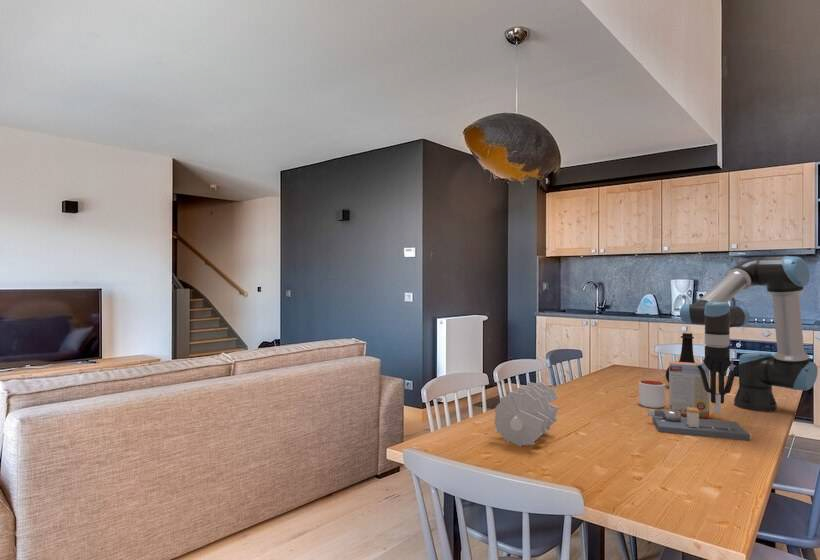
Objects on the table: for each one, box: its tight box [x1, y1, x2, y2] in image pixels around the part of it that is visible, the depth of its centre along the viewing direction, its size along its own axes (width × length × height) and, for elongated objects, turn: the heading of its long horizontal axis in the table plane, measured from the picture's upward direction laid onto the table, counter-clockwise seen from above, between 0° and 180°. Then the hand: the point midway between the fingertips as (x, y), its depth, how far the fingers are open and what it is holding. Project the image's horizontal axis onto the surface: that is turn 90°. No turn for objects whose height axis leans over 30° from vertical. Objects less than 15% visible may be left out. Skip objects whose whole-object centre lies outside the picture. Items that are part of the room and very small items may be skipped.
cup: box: [638, 379, 666, 409], centre depth 215 cm, size 10×10×10 cm
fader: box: [686, 407, 700, 428], centre depth 178 cm, size 3×4×6 cm
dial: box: [647, 408, 682, 422], centre depth 187 cm, size 11×6×3 cm, turn 72°
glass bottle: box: [665, 332, 696, 384], centre depth 248 cm, size 18×18×28 cm
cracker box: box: [668, 361, 710, 419], centre depth 201 cm, size 14×6×21 cm, turn 65°
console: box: [651, 416, 751, 441], centre depth 181 cm, size 28×16×2 cm, turn 72°
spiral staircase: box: [493, 381, 559, 448], centre depth 170 cm, size 18×18×25 cm
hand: (717, 412), depth 176 cm, fingers closed
